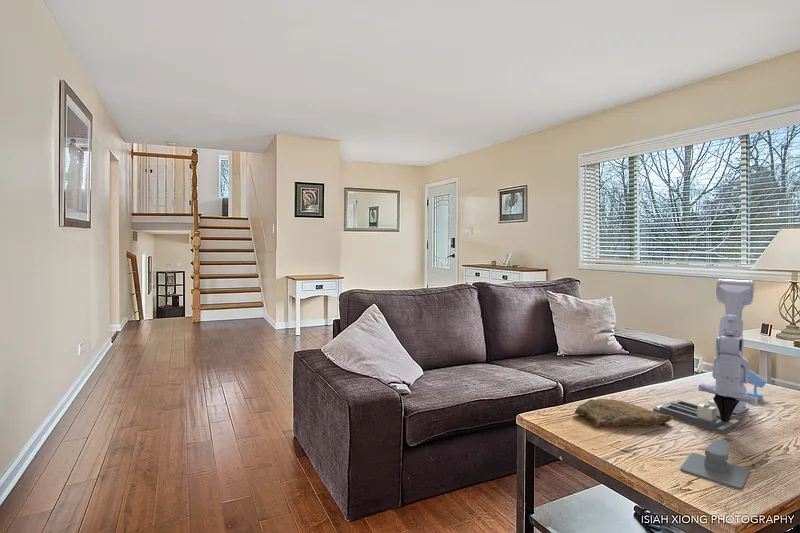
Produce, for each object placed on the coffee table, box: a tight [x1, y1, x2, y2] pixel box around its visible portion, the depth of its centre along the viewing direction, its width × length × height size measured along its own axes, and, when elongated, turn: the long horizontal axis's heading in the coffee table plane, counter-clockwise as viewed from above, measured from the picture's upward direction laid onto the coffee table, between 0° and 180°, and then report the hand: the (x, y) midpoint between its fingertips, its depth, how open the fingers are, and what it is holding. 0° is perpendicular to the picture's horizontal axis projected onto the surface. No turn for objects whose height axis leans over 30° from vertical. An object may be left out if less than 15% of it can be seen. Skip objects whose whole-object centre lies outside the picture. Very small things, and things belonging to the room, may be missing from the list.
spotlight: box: [746, 369, 767, 401], centre depth 164 cm, size 5×10×7 cm
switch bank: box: [652, 399, 742, 434], centre depth 145 cm, size 13×20×2 cm, turn 33°
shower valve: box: [680, 439, 751, 490], centre depth 113 cm, size 12×6×15 cm
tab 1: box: [697, 402, 717, 422], centre depth 139 cm, size 3×4×5 cm
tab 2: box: [707, 399, 720, 416], centre depth 143 cm, size 3×4×5 cm
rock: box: [574, 398, 674, 429], centre depth 142 cm, size 25×6×20 cm
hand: (725, 421), depth 135 cm, fingers closed
